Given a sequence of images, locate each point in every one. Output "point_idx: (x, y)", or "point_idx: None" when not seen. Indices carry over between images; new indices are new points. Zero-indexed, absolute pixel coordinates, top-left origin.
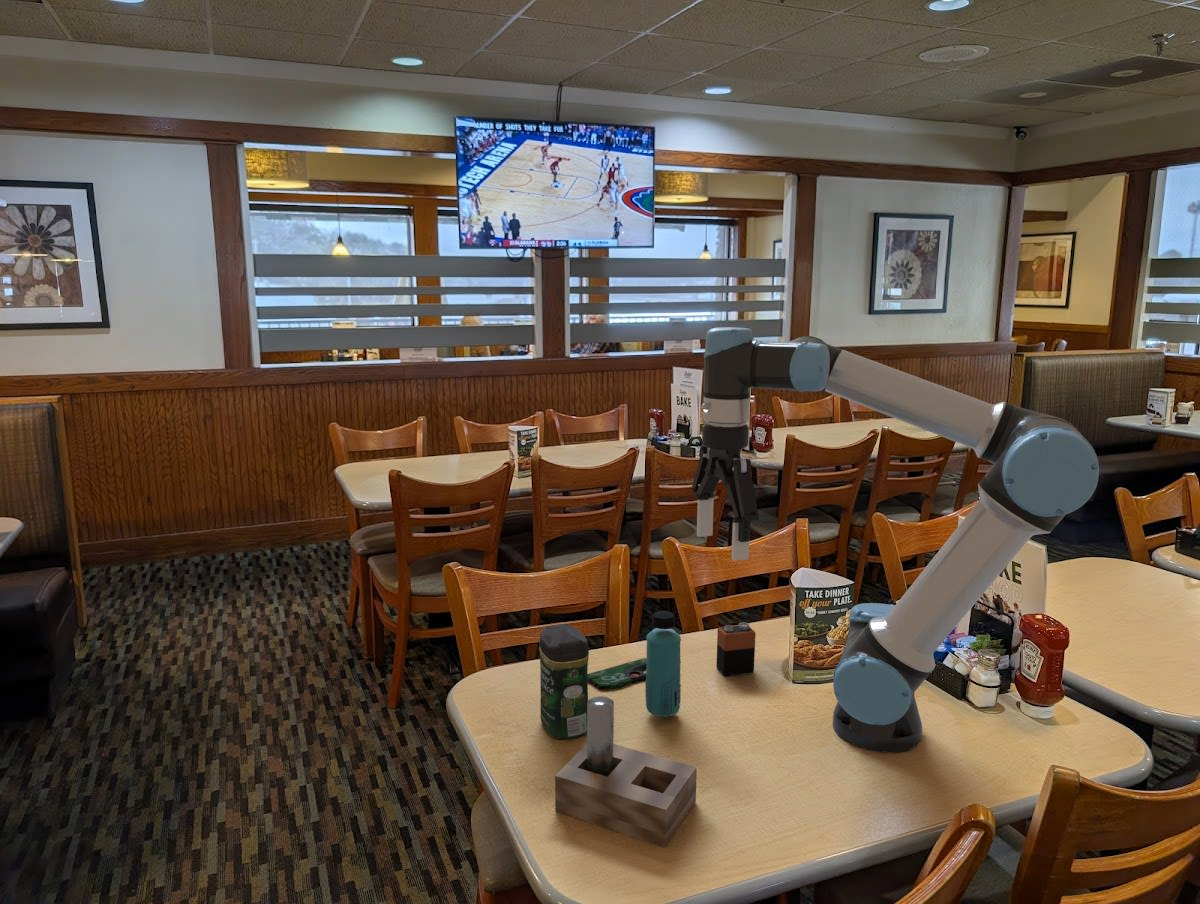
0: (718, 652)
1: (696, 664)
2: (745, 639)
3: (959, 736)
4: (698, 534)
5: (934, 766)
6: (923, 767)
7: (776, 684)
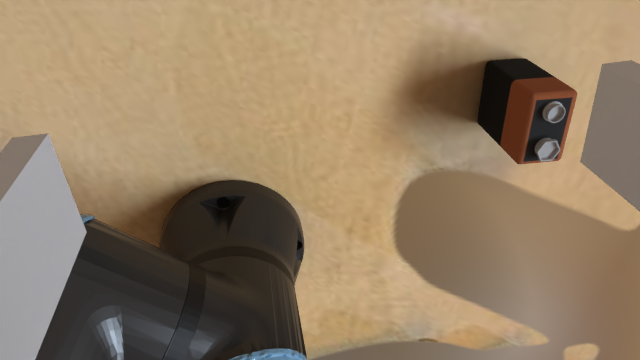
0: (535, 71)
1: (558, 21)
2: (513, 135)
3: None
4: (613, 69)
5: None
6: None
7: (422, 146)
